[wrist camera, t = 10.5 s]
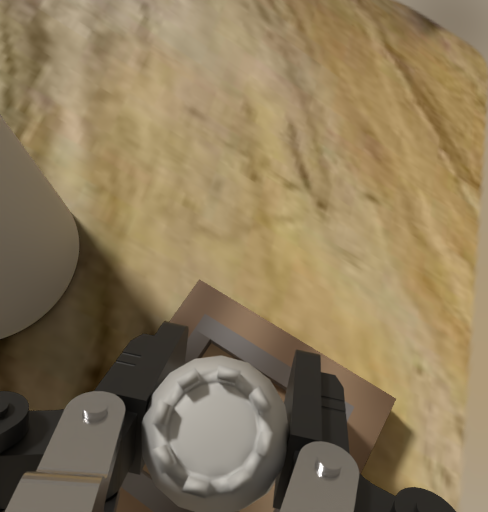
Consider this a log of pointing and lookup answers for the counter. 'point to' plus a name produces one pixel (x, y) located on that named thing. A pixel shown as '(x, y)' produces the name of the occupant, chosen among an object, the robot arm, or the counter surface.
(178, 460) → the rook chess piece
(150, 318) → the counter surface
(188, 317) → the walnut plinth
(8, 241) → the cylinder vase
